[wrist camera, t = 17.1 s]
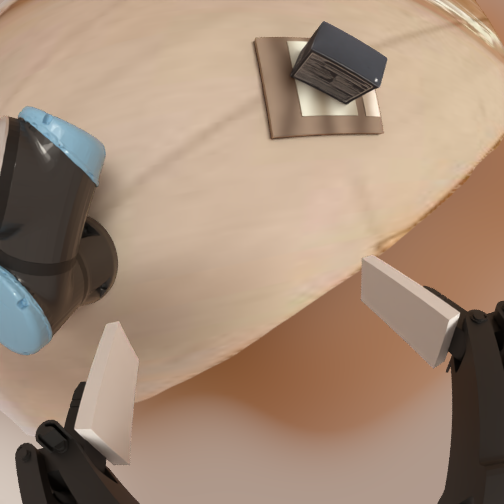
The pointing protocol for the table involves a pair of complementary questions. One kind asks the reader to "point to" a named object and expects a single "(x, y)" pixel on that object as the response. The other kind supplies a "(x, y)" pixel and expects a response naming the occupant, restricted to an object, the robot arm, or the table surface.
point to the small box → (339, 64)
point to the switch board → (307, 97)
